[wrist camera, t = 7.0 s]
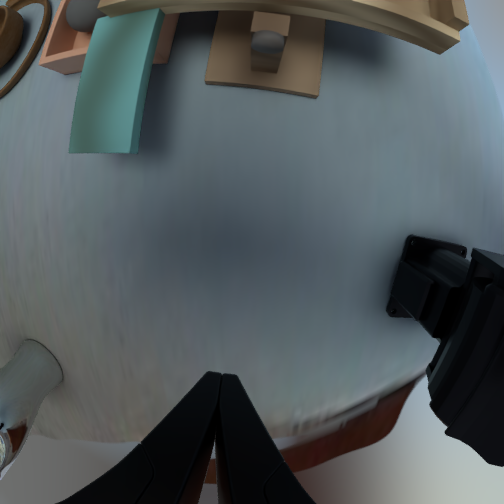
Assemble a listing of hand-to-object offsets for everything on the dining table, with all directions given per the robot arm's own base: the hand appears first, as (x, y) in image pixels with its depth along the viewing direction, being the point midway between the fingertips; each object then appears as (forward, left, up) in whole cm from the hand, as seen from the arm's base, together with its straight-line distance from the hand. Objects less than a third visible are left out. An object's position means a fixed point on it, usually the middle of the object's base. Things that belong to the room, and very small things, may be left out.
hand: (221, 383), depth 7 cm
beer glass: (+20, +15, -12) cm, 28 cm away
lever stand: (0, -17, -12) cm, 21 cm away
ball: (+12, -17, -10) cm, 23 cm away
